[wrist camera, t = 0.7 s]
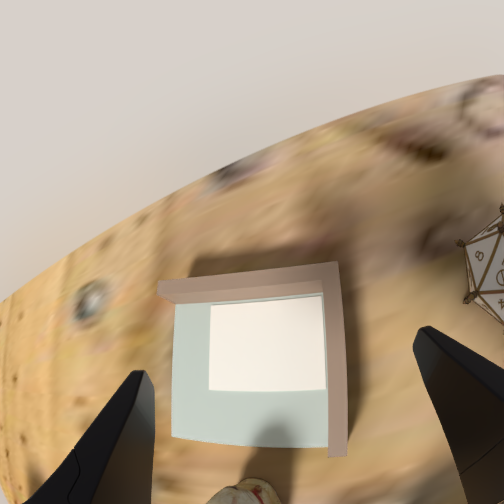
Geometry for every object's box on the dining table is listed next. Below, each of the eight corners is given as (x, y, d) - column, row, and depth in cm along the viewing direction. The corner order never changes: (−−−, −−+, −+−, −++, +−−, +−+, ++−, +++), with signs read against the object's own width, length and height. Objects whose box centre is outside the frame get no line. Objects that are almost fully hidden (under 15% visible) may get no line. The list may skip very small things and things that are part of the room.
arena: (347, 443, 17) (347, 456, 14) (176, 435, 21) (150, 441, 18) (339, 278, 23) (337, 260, 20) (181, 294, 27) (158, 280, 23)
